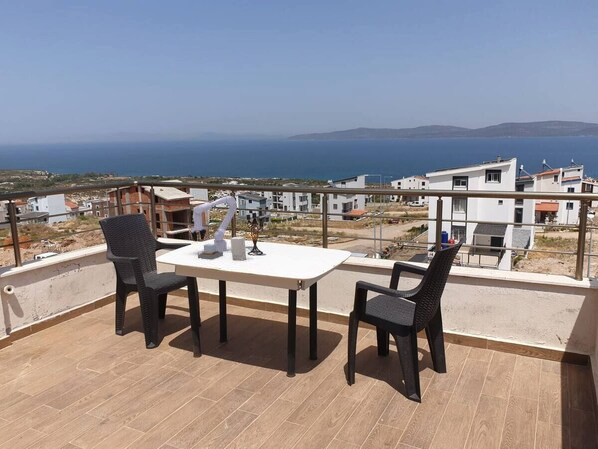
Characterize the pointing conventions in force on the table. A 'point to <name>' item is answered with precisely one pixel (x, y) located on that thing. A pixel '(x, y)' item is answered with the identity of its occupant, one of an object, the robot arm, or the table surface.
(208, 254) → the walnut block
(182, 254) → the table surface
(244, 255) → the skincare box
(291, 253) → the table surface
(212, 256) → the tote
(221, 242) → the robot arm
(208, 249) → the carton
